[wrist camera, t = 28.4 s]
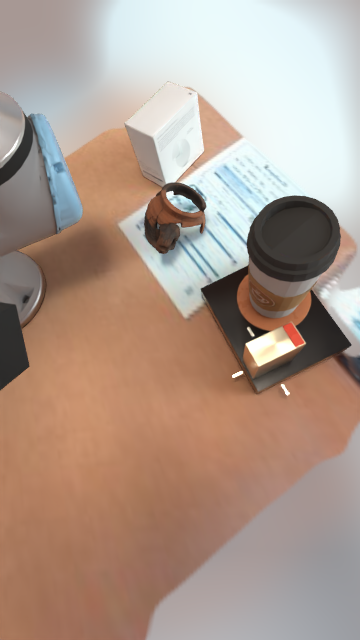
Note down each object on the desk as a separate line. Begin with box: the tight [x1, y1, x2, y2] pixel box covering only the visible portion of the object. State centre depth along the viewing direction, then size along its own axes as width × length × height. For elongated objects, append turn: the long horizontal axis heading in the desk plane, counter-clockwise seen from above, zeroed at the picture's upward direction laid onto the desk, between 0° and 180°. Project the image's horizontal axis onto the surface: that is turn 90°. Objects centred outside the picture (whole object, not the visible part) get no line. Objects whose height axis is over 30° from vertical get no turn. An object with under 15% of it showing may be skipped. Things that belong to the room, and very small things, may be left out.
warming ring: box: [237, 275, 311, 331], centre depth 42 cm, size 10×10×1 cm
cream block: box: [243, 321, 306, 379], centre depth 35 cm, size 6×3×8 cm, turn 115°
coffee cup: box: [247, 196, 341, 318], centre depth 34 cm, size 8×8×15 cm
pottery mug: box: [144, 182, 206, 254], centre depth 48 cm, size 12×10×8 cm
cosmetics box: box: [125, 82, 204, 187], centre depth 51 cm, size 10×6×10 cm, turn 140°
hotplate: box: [201, 266, 351, 395], centre depth 42 cm, size 18×15×3 cm
